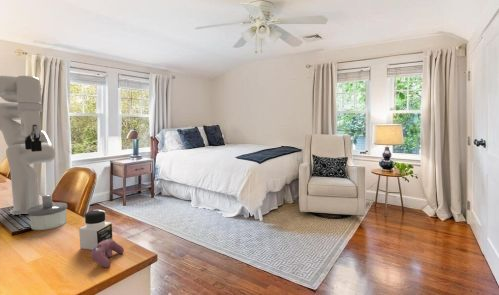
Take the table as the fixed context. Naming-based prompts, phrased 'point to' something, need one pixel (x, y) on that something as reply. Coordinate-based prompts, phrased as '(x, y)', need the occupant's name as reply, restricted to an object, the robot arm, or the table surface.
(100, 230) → the medicine bottle
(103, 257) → the video game controller
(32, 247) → the table surface
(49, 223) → the bowl
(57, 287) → the table surface
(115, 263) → the table surface
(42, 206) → the lid
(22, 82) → the robot arm
